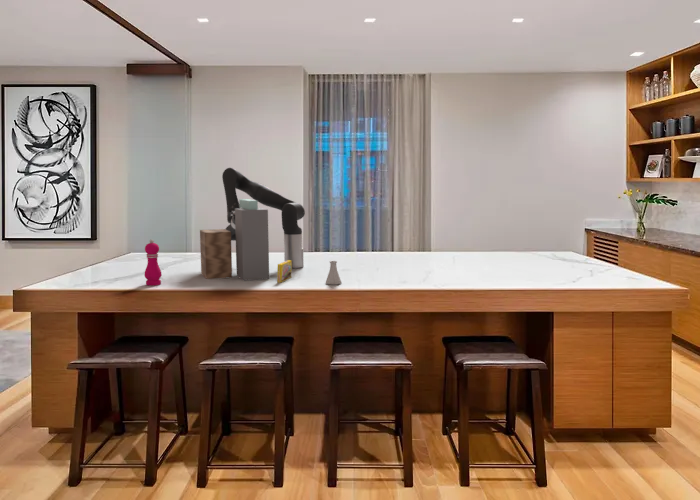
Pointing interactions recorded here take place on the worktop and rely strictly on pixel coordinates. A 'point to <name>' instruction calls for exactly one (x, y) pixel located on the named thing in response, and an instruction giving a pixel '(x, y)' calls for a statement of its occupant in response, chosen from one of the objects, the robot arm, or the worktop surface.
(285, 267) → the candy box
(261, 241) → the tall podium
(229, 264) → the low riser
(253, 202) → the slim carton
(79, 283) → the worktop surface
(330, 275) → the flask
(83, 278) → the worktop surface
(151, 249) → the pepper mill
